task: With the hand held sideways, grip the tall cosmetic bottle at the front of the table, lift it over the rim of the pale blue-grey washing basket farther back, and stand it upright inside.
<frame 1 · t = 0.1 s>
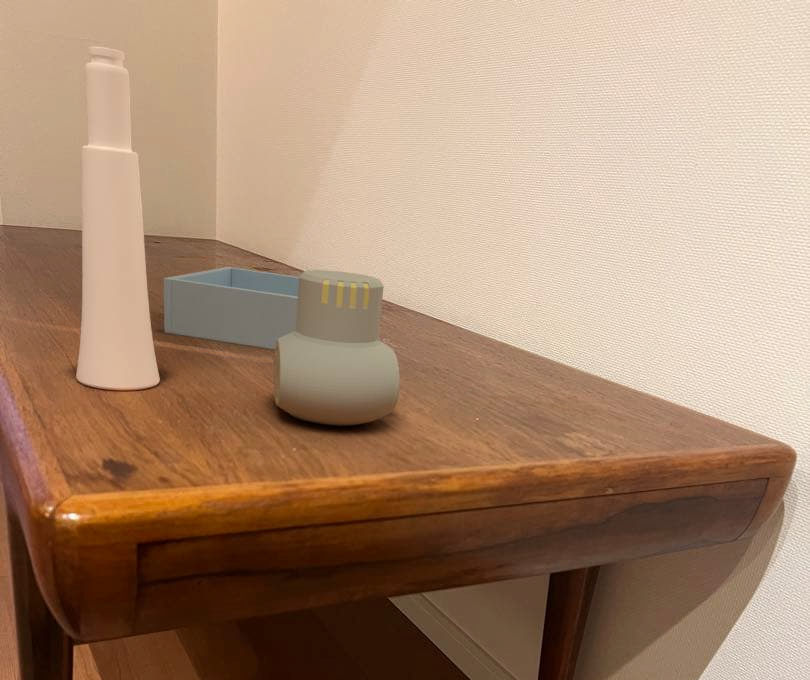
air freshener: (330, 418, 58), on the table
basket: (267, 337, 82), on the table
cosmetic bottle: (118, 383, 60), on the table
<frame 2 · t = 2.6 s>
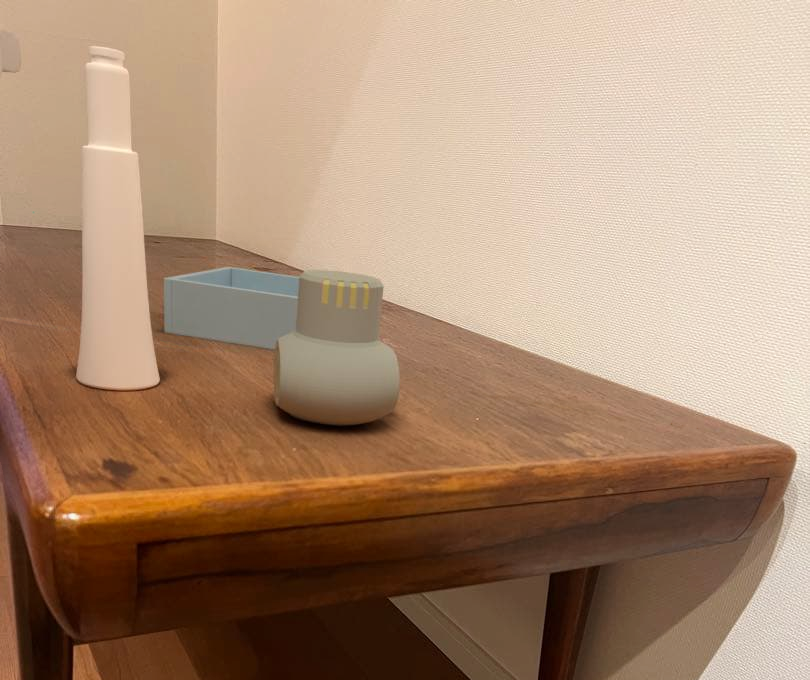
nothing on the table moved.
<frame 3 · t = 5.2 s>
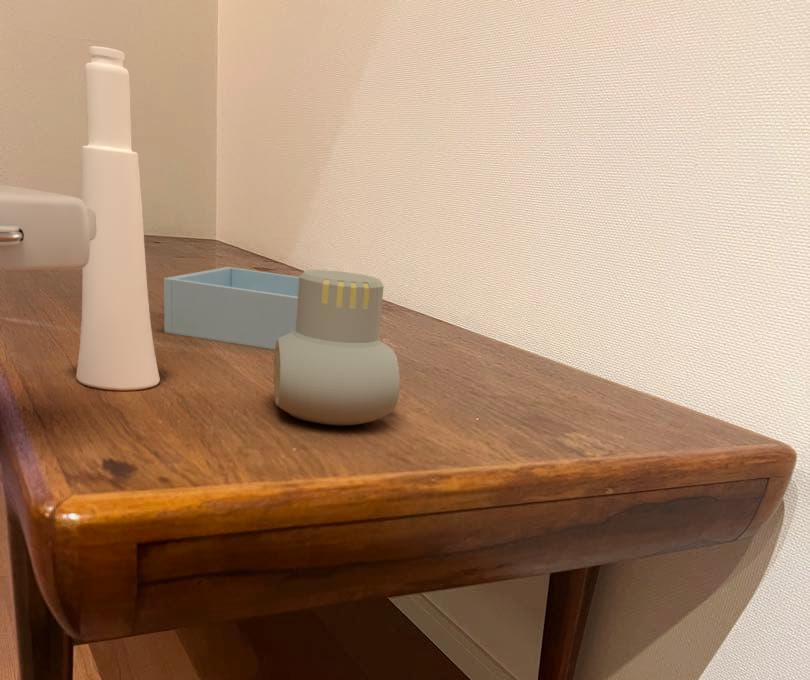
hand: (29, 212, 49), 12 cm above the table, tool horizontal, fingers open, 8 cm apart
nothing on the table moved.
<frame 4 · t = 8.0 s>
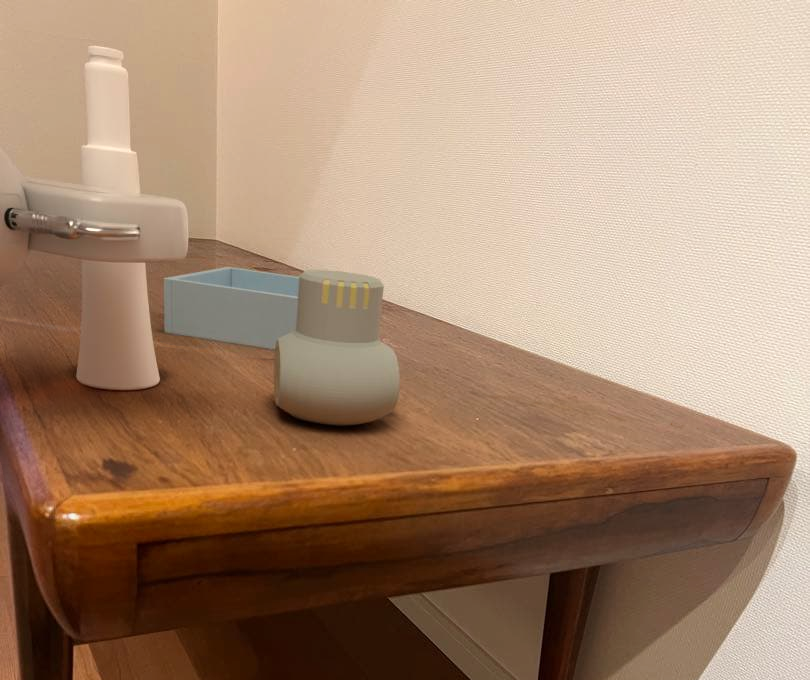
hand: (122, 213, 56), 12 cm above the table, tool horizontal, fingers closed on cosmetic bottle, 4 cm apart
cosmetic bottle: (118, 383, 60), on the table, touching gripper
everything else where it was.
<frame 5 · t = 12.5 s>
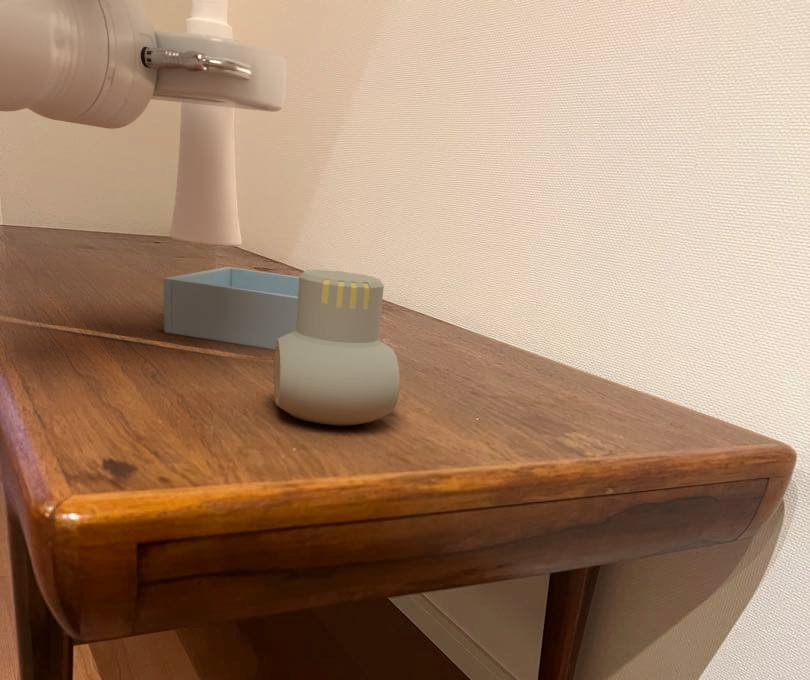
hand: (216, 85, 63), 22 cm above the table, tool horizontal, fingers closed on cosmetic bottle, 4 cm apart
cosmetic bottle: (206, 244, 68), point 10 cm above the table, touching gripper
everything else where it was.
when the fingers open (13 cm above the table, at t = 17.4 s): cosmetic bottle stays where it is, resting on basket.
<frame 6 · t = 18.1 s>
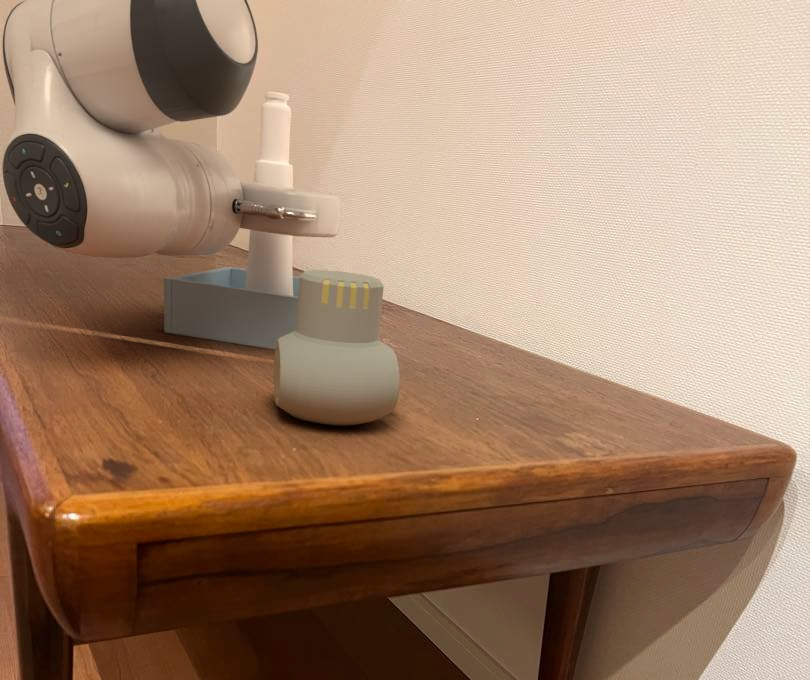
hand: (277, 204, 78), 13 cm above the table, tool horizontal, fingers open, 8 cm apart
cosmetic bottle: (267, 333, 82), resting on basket
everything else where it was.
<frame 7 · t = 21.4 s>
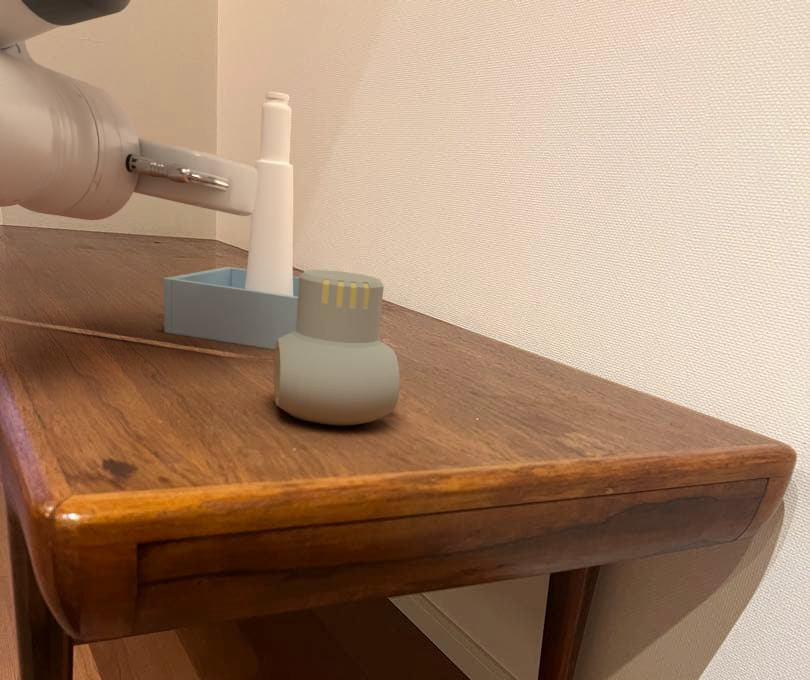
hand: (182, 178, 67), 15 cm above the table, tool horizontal, fingers open, 8 cm apart
nothing on the table moved.
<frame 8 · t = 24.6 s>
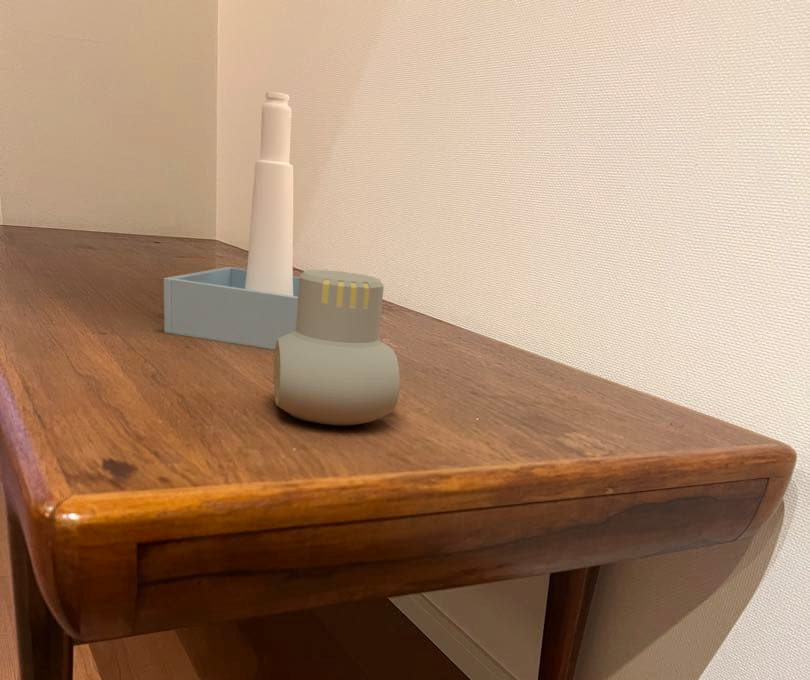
nothing on the table moved.
at the end: cosmetic bottle inside the target area in the basket (0.1 cm from its centre), point 0.4 cm above the basket's base; cosmetic bottle tilted 0°; the gripper is holding nothing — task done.
